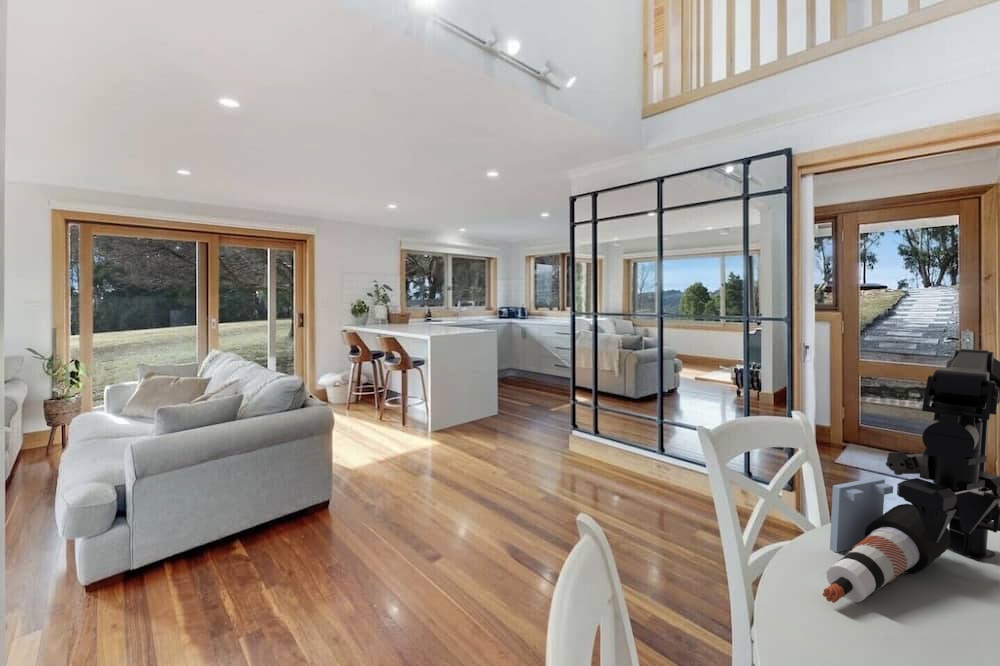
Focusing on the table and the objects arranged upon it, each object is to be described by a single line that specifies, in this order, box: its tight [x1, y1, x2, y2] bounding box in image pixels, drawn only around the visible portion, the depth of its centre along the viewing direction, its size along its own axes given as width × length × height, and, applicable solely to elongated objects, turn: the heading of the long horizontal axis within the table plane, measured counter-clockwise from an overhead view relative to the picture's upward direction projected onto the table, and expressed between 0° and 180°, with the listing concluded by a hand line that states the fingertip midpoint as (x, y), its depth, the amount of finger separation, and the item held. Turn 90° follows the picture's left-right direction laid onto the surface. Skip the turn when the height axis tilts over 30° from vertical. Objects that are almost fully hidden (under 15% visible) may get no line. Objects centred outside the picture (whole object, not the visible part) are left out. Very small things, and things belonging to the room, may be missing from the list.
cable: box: [822, 503, 951, 604], centre depth 86 cm, size 10×34×10 cm, turn 118°
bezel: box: [829, 476, 894, 553], centre depth 97 cm, size 14×4×14 cm, turn 109°
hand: (949, 536), depth 76 cm, fingers open, 9 cm apart
